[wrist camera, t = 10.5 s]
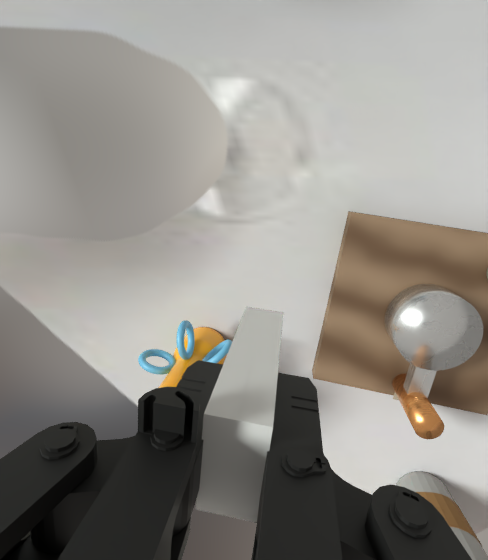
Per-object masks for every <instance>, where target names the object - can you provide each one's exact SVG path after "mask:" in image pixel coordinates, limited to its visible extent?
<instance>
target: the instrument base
mask: <svg viewBox="0 0 488 560" xmlns="http://www.w3.org/2000/svg"><path fill="white" fill-rule="evenodd" d="M418 284H435V285H439V286H442V287H444V288H446V289H448V290H450V291H451V292H453V293H454V294H456V295H458V296H459V297H461V298H462V299H464V300H466V301H467V302H469V303H470V304H471V305H472V306H473V307H474V308H475V309H476V310H477V311H478V313H479V315H480V317H481V319H482V323H483V337H482V341H481V343H480V345H479V347H478V349H477V351H476V352H475V353H474V354H473V355H472V356H471V357H470V358H469V359H468V360H467V361H465V362H464V363H462V364H460V365H458V366H456V367H454V368H450V369H446V370H439V371H437V372H436V375H435V378H434V381H433V384H432V387H431V390H430V393H429V396H428V400H429V402H430V403H432V404H437V405H442V406H447V407H451V408H456V409H461V410H466V411H470V412H475V413H480V414H485V415H487V414H488V233H483V232H477V231H470V230H464V229H458V228H451V227H445V226H439V225H432V224H426V223H420V222H413V221H407V220H401V219H394V218H388V217H381V216H375V215H369V214H362V213H356V212H350V211H349V212H348V216H347V221H346V225H345V229H344V234H343V238H342V243H341V247H340V251H339V256H338V260H337V264H336V269H335V273H334V278H333V282H332V286H331V291H330V295H329V299H328V304H327V308H326V313H325V317H324V321H323V326H322V330H321V334H320V339H319V343H318V347H317V352H316V356H315V361H314V365H313V369H312V372H313V378H314V379H319V380H323V381H328V382H333V383H338V384H342V385H347V386H352V387H357V388H361V389H366V390H371V391H376V392H380V393H385V394H390V395H394V397H393V399H396V400H399V399H398V397H397V395H396V393H395V391H394V389H393V386H392V382H393V379H394V378H395V377H396V376H397V375H400V374H407V372H408V369H409V366H410V362H408V361H407V360H406V359H405V358H404V357H403V356H402V355H401V353H400V352H399V350H398V349H397V347H396V346H395V344H394V343H393V341H392V340H391V338H390V337H389V335H388V333H387V331H386V327H385V314H386V310H387V308H388V306H389V304H390V302H391V301H392V299H393V298H394V297H395V296H396V295H397V294H399V293H400V292H401V291H403V290H404V289H406V288H408V287H411V286H414V285H418Z"/></svg>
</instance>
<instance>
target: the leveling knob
mask: <svg viewBox="0 0 488 560" xmlns="http://www.w3.org/2000/svg"><path fill="white" fill-rule="evenodd" d="M385 327H386V331H387V333H388V335H389V337H390V338H391V340H392V341H393V343H394V344H395V346H396V347H397V349H398V350H399V352H400V353H401V355H402V356H403V357H404V358H405V359H406V360H407V361H408V362H410V366H409V369H408V372H407V374H400V375H397V376H396V377H395V378H394V379H393V382H392V386H393V389H394V391H395V393H396V395H397V397H398V399H399V401H400V403H401V405H402V406H403V408H404V410H405V412H406V414H407V416H408V418H409V420H410V422H411V424H412V426H413V428H414V430H415V432H416V434H417V435H418V436H420V437H421V438H424V439H434V438H436V437H438V436H440V435H441V434H442V432H443V430H444V424H443V422H442V420H441V419H440V417H439V415H438V414H437V412H436V411H435V409H434V408H433V406H432V405H431V403H430V402H429V400H428V396H429V393H430V390H431V387H432V384H433V381H434V378H435V375H436V372H437V371H439V370H446V369H450V368H454V367H456V366H458V365H460V364H462V363H464V362H465V361H467V360H468V359H469V358H470V357H471V356H472V355H473V354H474V353H475V352H476V351H477V349H478V347H479V345H480V343H481V341H482V337H483V323H482V319H481V317H480V315H479V313H478V311H477V310H476V309H475V308H474V307H473V306H472V305H471V304H470V303H469V302H467V301H466V300H464V299H462V298H461V297H459V296H458V295H456V294H454V293H453V292H451V291H450V290H448V289H446V288H444V287H442V286H439V285H435V284H418V285H414V286H411V287H408V288H406V289H404V290H403V291H401V292H400V293H399V294H397V295H396V296H395V297H394V298H393V299H392V301H391V302H390V304H389V306H388V308H387V310H386V314H385Z"/></svg>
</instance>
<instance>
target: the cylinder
mask: <svg viewBox="0 0 488 560" xmlns="http://www.w3.org/2000/svg"><path fill="white" fill-rule="evenodd" d="M185 329H186V330H187V335H186V336H185V337H184V334H185ZM231 344H232V341H231V340H224V338H223V337H222V335H221V334H220V333H218V332H217V331H216V330H214V329H211V328H207V327H199V328H195V329H193V327H192V325H191V323H190V322H189V321H182V322H181V323H180V325H179V327H178V331H177V348H176V350H175V352H174V355H173V356H172V355H171V354H169V353H168V352H165V351H162V350H157V349H151V350H146V351H144V352H143V353H141V354H140V356H139V359H138V361H139V364H140V366H141V367H142V368H143V369H144V370H146V371H148V372H150V373H154V374H167V373H168V375H167V376H166V378H165V379H164V380H163V382H162V383H161V385H160V386H159V387H158V388H162V387H177V384H178V383H179V381H180V379H181V378H182V376H183V374H184V372H185V371H186V369H187V367H189V366H190V365H192V364H193V363H195V362H196V361H198V360H200V361H206V362H212V363H218V364H223V363H224V361H225V359H226V356H227V353H228V352H229V349H230V347H231ZM150 356H159V357H162V358H164V359H166V360H167V361H168V362H169V365H168V366H166V367H156V366H153V365H151V364H149V363H148V362H147V361H146V358H147V357H150Z"/></svg>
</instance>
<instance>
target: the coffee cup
mask: <svg viewBox="0 0 488 560" xmlns="http://www.w3.org/2000/svg"><path fill="white" fill-rule="evenodd" d="M396 486H401V487H405V488H407V489H410V490H412V491H414V492H416V493H418V494H420V495H421V496H422V497H424V498H425V499H426V500H428V501H429V502H430V503H432V504H433V506H434V507H435V508H436V509H437V510H438V511H439V512H440V514H441V515H442V516H443V517H444V519H445V520H446V522H447V523H448V525H449V526H450V528H451V529H452V531H453V532H454V534H455V535H456V537H457V538H458V539H459V541H460V542H461V544H462V545H463V547H464V548H465V550H466V551H467V553H468V554H469V556H470V557H471V559H472V560H488V556H487V555H486V553H485V551H484V549H483V548H482V545H481V543H480V541H479V540H478V539H477V536H476V535H475V533H474V532H473V530H472V528H471V527H470V525H469V523H468V522H467V520H466V518H465V517H464V515H463V514H462V512H461V510H460V509H459V507H458V506H457V504H456V503H455V502H454V500H453V498H452V497H451V495H450V493H449V492H448V490H447V488H446V487H445V485H444V484H443V483H442V481H440V480H439V479H438V478H436V477H435V476H433V475H432V474H429V473H427V472H421V471H419V472H411V473H408V474H406V475H404V476H403V477H401V478H400V479H399V481H398V482H397V485H396Z"/></svg>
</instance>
